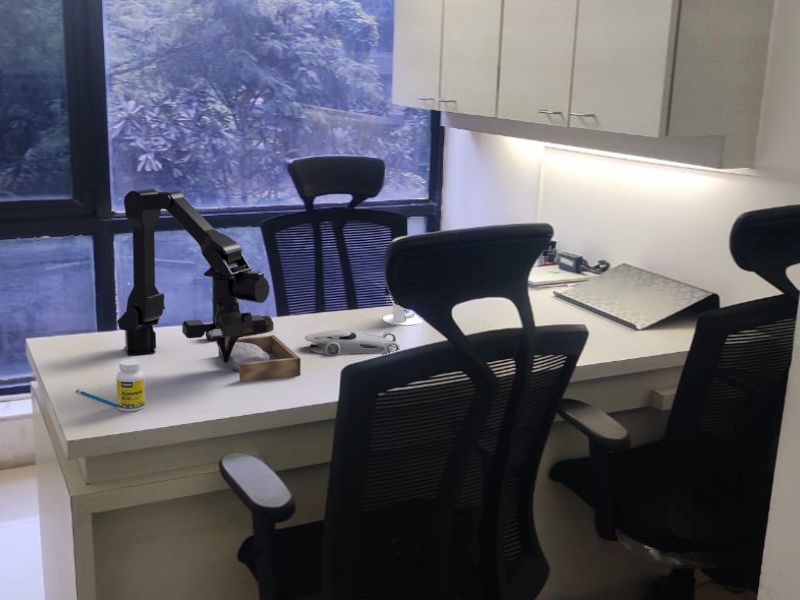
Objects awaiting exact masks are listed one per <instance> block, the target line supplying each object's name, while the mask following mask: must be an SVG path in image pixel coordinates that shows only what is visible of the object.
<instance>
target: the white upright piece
mask: <svg viewBox="0 0 800 600" xmlns="http://www.w3.org/2000/svg"><path fill="white" fill-rule="evenodd" d="M389 297H390V301H391V302H392V314H388V315H385V316H384V317H382V318H383V319H382V320H383V322H385V323H386V324H389V325H392V326H393V325H394V326H406V327H407V326H409V327H410V326H416V325H420V324H422V323H423V322H424V320H423V321H422V320H421V319H419V318H418V317H417V316H418V315H415V313H414V314H413V313H411V312H409V311H406V310H403V309H401V308H400V307H398V306H397V305H396V304H395V303H394V301H393V300H392V298H391V296H390V295H389Z"/></svg>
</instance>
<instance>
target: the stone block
mask: <svg viewBox="0 0 800 600" xmlns="http://www.w3.org/2000/svg"><path fill="white" fill-rule="evenodd" d="M221 358H222V357H221ZM221 360H223V358H222V359H221ZM267 360H270V355H269V354H268V352H267V353H266V352H264V351H262V349H261V348H260V347H258V346H257V345H254V344H252V343H243V342H238V343H237V342H235V344H234V347H233V349H232V352H231V355H230V358H229V360H228V362H226V364H227V366H229V367H230V369H232V370H233V371H236V372H239V373H240V368H239V363H248V362H258V361H267Z"/></svg>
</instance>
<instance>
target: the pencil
mask: <svg viewBox="0 0 800 600" xmlns="http://www.w3.org/2000/svg"><path fill="white" fill-rule="evenodd" d="M75 393H78V394H79V395H82V396H85V397H88V398H91V399H94V400H96V401H99V402H100V403H104V404H107V405H110V406H112V407H115V408H117V409H118V407H117V403H115V402H112V401H110V400H108V399H105V398H101V397H99V396H98V395H97V396H96V395H95V394H94V395H93V394H91V393H88V392H86V391H84V390H80V389H76V391H75Z"/></svg>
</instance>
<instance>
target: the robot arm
mask: <svg viewBox="0 0 800 600" xmlns="http://www.w3.org/2000/svg"><path fill="white" fill-rule="evenodd" d="M123 206H124V211H125V217H126V219H127V221H128V222H129V223H130V226H131V227H132V260H133V261H132V268H133V269H132V272H133V277H132V278H133V287H132V289H131V291H130V293H129V295H128V296H127V301H126V311H125V312H124V313H123V314H122V315H120V317H119V318H118V319H117V326H118V329H119V330H121V331H124V339H125V340H124V341H125V346H124V348H123V349H124V351H125V352H126V355H128V356H137V355H149V354H155V353H156V349H157V336H156V334H157V333H156V331H155V330H154V326H155V325H158V324H159V321H160V319H161V318H160V317H161V316H163V313H164V310H165V309H166V306H165V293H164V292H160V291H159V289H157V287H156V268H155V267H156V266H155V265H156V263H155V261H156V260H155V257H156V255H155V254H156V253H155V248H156V247H155V227H156V225H157V222H158V220H159V218H160V217H161V212H162V210H165V211H167V212H168V214H170V216H171V217H173V219H174V220H175V221H176V222H177V223H178V224H179V225H180V226H181V227H182V228H183V229H184V230H185V231H186V232H187V234H189V236H191V237H192V239H194V241H195V242H196V243H197V244H198V245H199V247H200V250H201V254H202V256H203V258H204V259H205V260H206V262H207V263H208V265H209V268H208V269H207V270H206V271H205V272H203V275H204V277H210V278H211V283H212V285H211V288H212V291H211V292H212V293H211V295H212V297H211V304H212V315H211V320H212V322H210V323H209V322H208V323H204V322H203V321H201V320H200V319H192V320H189V319H188V320H184V321H183V322H182V325H181V326H182V327H181V330H182V333H183V335H184V336H185V337H186V339H199V338H200V339H201V338H203V336H204V335H206V332H208V335H209V336H210V337H211V338H212V339H214V340H213V341H215V344H216V345H217V347H218V351H219V350H220V353H221V356H222V357H221V358H223V359H222V361H223V362H224V363H226V362H228V360H229V358H230V355H231V352H232V349H233V347H234V344H235V342H236V341H237V340H238V339H239V338H244V334H243V332H244V329H249V328H252V330H253V331H254V332H255V333H260V332H266V333H268V332H267V331H268V323H267V321H266V320H265V319H264V318H263V317H262V316H263V315H260V314H257V315H252V313H251V312H248V311H247V312H241V310H240V303H239V300H241V301H247V302H252V303H253V302H254V303H258V304H262V303H263V304H264V303H265V302H266V300H267V299H268V296H269V294H270V284H269V281H268V280H267V278H266V277H265V276H264V275H265V273H264V271H252V270H253V269H252V267H251V266H250V264H249V262H248V261H247V258H246V257H245V256H244V254H243V250H242V247H241V246H240V244H239V243H238V242H237V241H235V240H234V239H232V238H231V237H230V236H228V235H226V234H224V233H222V232H219V231H218V230H216V229H215V228H214V227H213V226H212V225H211V224H210V223H209V222H208V221H207V220H206V219H205V218H204V216H202V214H200V213H199V211H197V210H196V209H195V208H194V206H193V205H192V204H190V202H189V201H188V200H187V199H186V198H185V196H184V194H183V193H182V192H181V191H179V190H169V191H159V192H158V190H156V189H154V188H152V187H151V188H144V189H142V188H141V189H135V190H129V192H127V194H126V195H124V198H123ZM226 364H227V363H226Z"/></svg>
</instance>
